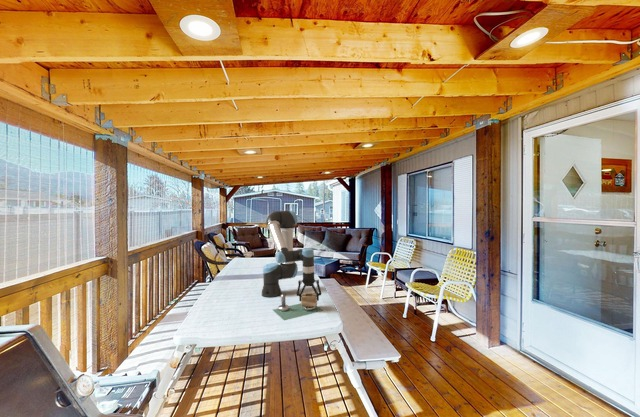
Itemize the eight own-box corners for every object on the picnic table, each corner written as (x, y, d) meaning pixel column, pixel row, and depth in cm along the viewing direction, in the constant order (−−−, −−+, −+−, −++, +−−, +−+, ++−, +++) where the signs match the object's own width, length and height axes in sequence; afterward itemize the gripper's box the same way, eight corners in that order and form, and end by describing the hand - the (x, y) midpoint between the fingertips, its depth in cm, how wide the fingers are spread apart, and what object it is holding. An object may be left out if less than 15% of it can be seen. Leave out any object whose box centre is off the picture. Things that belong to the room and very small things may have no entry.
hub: (301, 308, 193) (301, 296, 193) (311, 305, 197) (311, 294, 197) (306, 311, 186) (306, 299, 186) (317, 309, 190) (317, 297, 190)
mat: (272, 310, 191) (272, 309, 191) (309, 301, 205) (309, 301, 205) (284, 321, 174) (284, 320, 174) (323, 311, 188) (323, 310, 188)
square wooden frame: (302, 301, 196) (302, 292, 196) (316, 301, 196) (315, 292, 196) (302, 306, 187) (301, 297, 187) (315, 306, 187) (315, 297, 187)
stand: (276, 309, 192) (276, 294, 192) (286, 306, 196) (286, 292, 195) (280, 312, 186) (280, 297, 186) (290, 310, 190) (290, 295, 189)
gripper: (291, 273, 187) (292, 308, 188) (325, 273, 187) (325, 307, 188) (292, 271, 194) (293, 304, 195) (324, 270, 195) (325, 303, 195)
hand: (309, 305), depth 192 cm, fingers closed on square wooden frame, 9 cm apart
